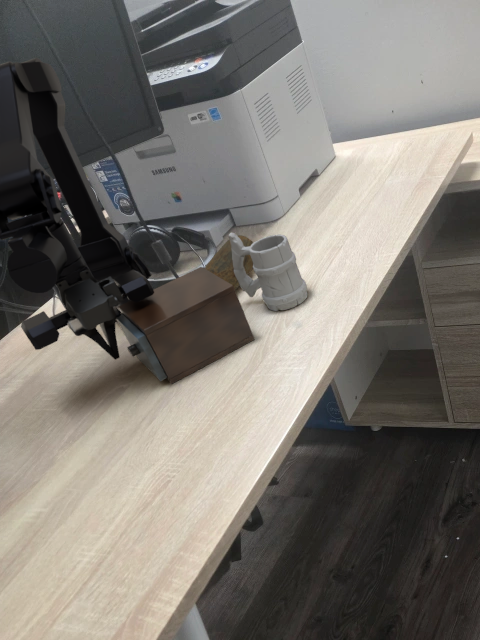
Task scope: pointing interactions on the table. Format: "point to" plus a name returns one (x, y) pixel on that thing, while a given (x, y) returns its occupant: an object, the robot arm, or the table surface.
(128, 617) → the table surface
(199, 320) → the cabinet
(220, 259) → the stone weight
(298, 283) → the mug
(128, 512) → the table surface
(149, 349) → the drawer
